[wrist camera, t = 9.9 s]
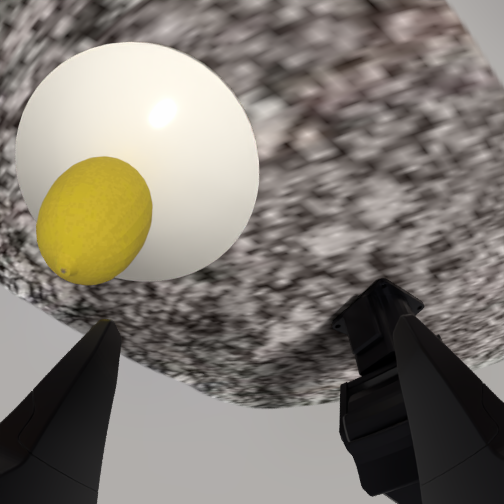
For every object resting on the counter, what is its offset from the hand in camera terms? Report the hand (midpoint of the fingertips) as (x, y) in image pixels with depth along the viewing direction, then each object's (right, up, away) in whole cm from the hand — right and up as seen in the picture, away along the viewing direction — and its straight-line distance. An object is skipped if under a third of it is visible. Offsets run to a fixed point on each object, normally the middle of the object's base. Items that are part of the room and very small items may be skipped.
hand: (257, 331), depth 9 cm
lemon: (-8, +7, +8) cm, 13 cm away
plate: (-8, +7, +9) cm, 14 cm away
